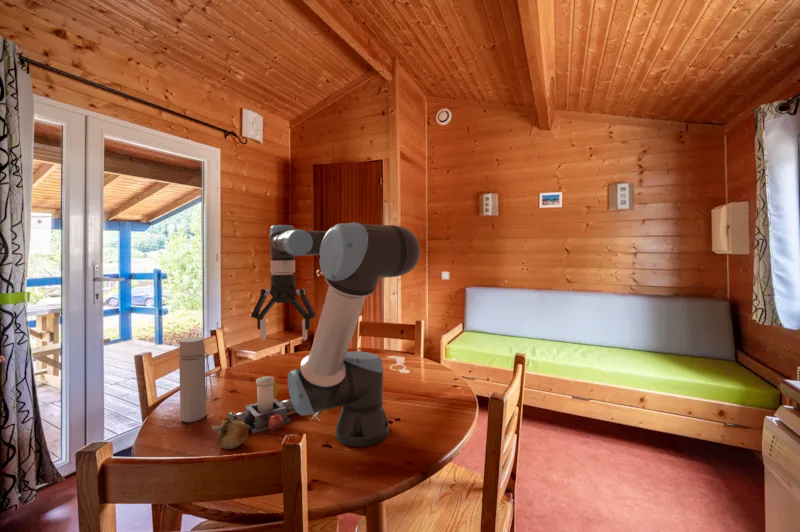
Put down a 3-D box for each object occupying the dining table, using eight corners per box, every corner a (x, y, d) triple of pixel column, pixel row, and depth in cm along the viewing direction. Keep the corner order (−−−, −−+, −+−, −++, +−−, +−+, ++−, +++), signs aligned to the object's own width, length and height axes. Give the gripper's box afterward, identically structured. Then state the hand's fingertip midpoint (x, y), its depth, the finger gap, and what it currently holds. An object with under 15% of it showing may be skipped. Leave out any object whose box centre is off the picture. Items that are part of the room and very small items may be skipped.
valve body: (310, 421, 112) (309, 403, 112) (238, 444, 99) (238, 424, 99) (291, 406, 123) (291, 389, 123) (224, 424, 110) (224, 406, 110)
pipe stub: (277, 418, 112) (276, 379, 112) (260, 423, 109) (259, 383, 108) (270, 412, 116) (270, 375, 116) (254, 417, 113) (253, 379, 112)
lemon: (272, 405, 124) (271, 382, 123) (257, 404, 125) (256, 381, 124) (280, 399, 129) (280, 376, 129) (266, 397, 130) (265, 375, 130)
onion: (235, 456, 93) (234, 425, 93) (209, 451, 96) (209, 421, 95) (254, 441, 101) (254, 413, 100) (230, 437, 103) (229, 409, 102)
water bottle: (176, 425, 109) (174, 343, 108) (184, 414, 117) (182, 337, 116) (210, 421, 112) (208, 341, 111) (215, 410, 120) (214, 335, 118)
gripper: (324, 273, 120) (325, 336, 121) (250, 273, 121) (251, 336, 122) (318, 274, 113) (319, 342, 113) (239, 274, 113) (240, 342, 114)
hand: (284, 339), depth 117 cm, fingers open, 13 cm apart
